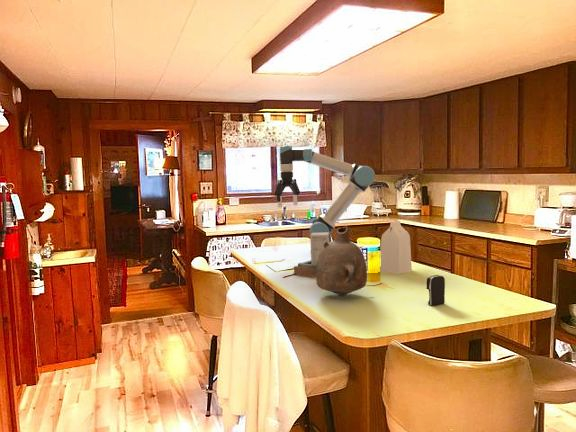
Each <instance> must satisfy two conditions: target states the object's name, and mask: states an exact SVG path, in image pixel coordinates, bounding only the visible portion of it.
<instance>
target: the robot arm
mask: <svg viewBox="0 0 576 432" xmlns="http://www.w3.org/2000/svg"><path fill="white" fill-rule="evenodd" d="M279 162H280V163H279V166H280V178H281V179H278V180H277V184H276V188H275V190H274V193H273V194H274V196H275V197H276V202H277V208H283V199H282V194H283V192H284V191H285V188H289V189H290V190H291V192H292V193H293V195H292V196H293V197H292V203H293V206H298V200H299V195H300V194H301V191H300V189H299V186H298V183H297V179H296V178H294V172H293V170H294V167H293V165H294V164H293V162H306V163H308V164H311V165H314V166H317V167H320V168H323V169H325V170H329V171H333V172H334V173H338V174H341V175H343V176H347V177H348V178H349V179H348V184H347V185H346V187H345V188H344V189H343V190H342V192H341V193H340V194H339V195H338V197H337V198H336V199H335V200H334V201H333V203H332V204H331V205H330V207H329V208H328V209H326V212H325V213H324V214H320V215H319V216H318V217H313V218H312V221H311V222H312V224H311V225H310V227H309V234H310V235H311V234H312V233H324V232H329V242H332V232H333V230H334V229H335V228H336V223H337V222H338V220H339V219H340V218H341V217H342V216H343V214H344V213H345V212H346V211H347V209H348V208H349V207H350V206H351V204H353V203H354V201H355V199H357V197H358V196H359V195H360V194H361V193H365V192H366V190H367V189H368V188H369V187H370V186H371V185H372V184H373V183H374V181H375V179H376V173H375V171H374V169H373V168H372V167H370V166H369V165H360V164H357V163H353V164H351V163H348V162H346V161H342V160H340V159H337V158H333V157H332V156H331V157H330V156H328V155H325V154H322V153H319V152H316V151H313V150H312V148H311V147H309V148H308V147H305V148H304V147H303V148H293V146H292V145H281V146H280V147H279Z"/></svg>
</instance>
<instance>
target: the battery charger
mask: <svg viewBox="0 0 576 432" xmlns="http://www.w3.org/2000/svg"><path fill="white" fill-rule="evenodd" d="M445 281H446V279H445V277H444V276H443V275H440V274H435V275H429V276H428V277H427V278H426V289H427V290H428V294H429V295H428V296H429V297H428V299H429V300H428V302H427V304H428V305H429V306H431V307H434V306H439V305H442V304H445V303H446V301H445V300H446V299H445V298H446V297H445V295H446V291H445V289H446V282H445Z"/></svg>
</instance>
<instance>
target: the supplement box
mask: <svg viewBox="0 0 576 432" xmlns="http://www.w3.org/2000/svg"><path fill="white" fill-rule="evenodd" d="M309 237H310V238H309V239H310V260H311V265H317V260H318V256H319V254H320V252H321V250H322V248H323V247H324V243H325V241H327V243H329V232H324V233H312V234H311V235H310V236H309Z"/></svg>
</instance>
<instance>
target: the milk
mask: <svg viewBox="0 0 576 432" xmlns="http://www.w3.org/2000/svg"><path fill="white" fill-rule="evenodd" d="M380 238H381V239H380V258H381V271H380V272H381V273H382V272H383V273H388V274H396V275H401V274H404V273H407V272H410V271H412V270H413V269H412V267H413V265H412V253H411V252H412V249H411V248H412V247H411V236H410V233H409V232H408V231H407V230H406V229H405V228H404V227H403V226H402V225H401V221H400V220H393V221H390V224H389V227H388V229H386V230H385V231H384V232H383V233H382V235H381V237H380Z"/></svg>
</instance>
